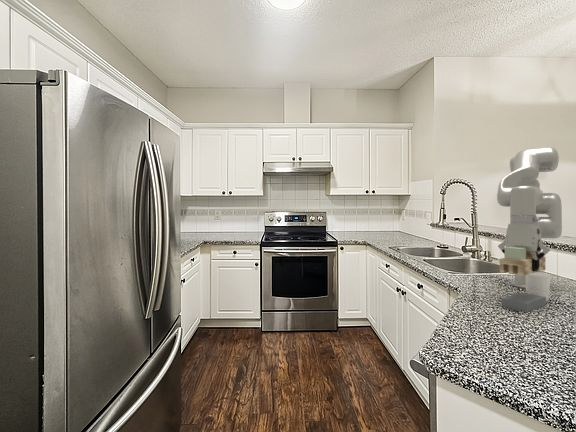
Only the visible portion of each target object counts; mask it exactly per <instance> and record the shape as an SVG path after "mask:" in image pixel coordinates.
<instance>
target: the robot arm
mask: <svg viewBox="0 0 576 432" xmlns="http://www.w3.org/2000/svg"><path fill="white" fill-rule="evenodd" d="M559 158H560V155H559V152H558V151H557V149H556V148H554V147H551V146H546V147H537V148H535V147H534V148H526V149H522V150H520V151H518V152H517V153H516V155H515V156H514V157H512V158H511V159H509V168H510V172H509V173H508V174H507V175H505V176H504V177H502V178H501V180H500V181H499V183H498V187H497V188H498V189H497V193H496V200H497V203H498V204H499V206H501V207H507V208H508V207H509V210H510V211H509V214H510V215H509V218H510V219H509V221H510V223H508V224H507V229H506V234H505V240H504V241H502V242H500V244H498V245H497V247H498V248H499V250H500V251H501V252H502V253H503V254H504V255H505V247H520V248H526V252H530V253H531V255H532V257H533V260H532V271H538V269H539V267H540V259H541V258H542V257H544V256H545V257H546V255H547V254H549V253H550V251H551V248H549V247H548V245H545V244H544V243H543V241H542V239H549V240H550V239H558V238H560V237H561V235H562V232H563V231H562V230H563V220H562V219H563V218H562V217H563V214H562V213H563V212H562V211H563V210H562V207H563V206H562V200H561V197H560V195H559V194H557V193H556V192H555V193H554V192H543V190H541V187H540V186H541V183H540V182H539V180H538V178H539V175H540V173H547V172H554V171H555V170H557V168H558V166H559V160H560V159H559ZM537 215H546V216H537ZM538 251H540V254H539V253H538ZM539 273H542V271H540V272H539ZM510 285H511V286H513V287H516V288H521V289H526V281H525V275H523V276H520V275H518V273H516V274H514V280H511V281H510Z"/></svg>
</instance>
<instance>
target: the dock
mask: <svg viewBox="0 0 576 432" xmlns="http://www.w3.org/2000/svg"><path fill="white" fill-rule="evenodd" d="M544 306H547V301H546V297H544V296H539V295H533V294H528V293H527V292H524V291H523V292H522V291H521V292H518V293H517V292H516V293H514V294H511V295H507V296H505V297H501V307H503V308H508V309H511V310H517V311H521V312H525V313H528V312H531V311H533V310H536V309H539V308H542V307H544Z"/></svg>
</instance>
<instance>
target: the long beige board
mask: <svg viewBox="0 0 576 432" xmlns="http://www.w3.org/2000/svg"><path fill="white" fill-rule="evenodd" d="M532 260H533V257H526V259H525V260H512V259H505V257H502V258H499V273H501V274H502V273H503V274H506V273H508V274H509V275H515V274H516V273H518V275H520V276H523V275H527V274H531V273H535V272H540V271H541V272H543V271H546V255H545V256H544V257H542V258H541V259H540V267H539V269H538V271H532Z"/></svg>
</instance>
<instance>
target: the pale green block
mask: <svg viewBox="0 0 576 432" xmlns="http://www.w3.org/2000/svg"><path fill="white" fill-rule="evenodd" d="M504 258H505V259H512V260H525V259H526V248H520V247H506V246H505V254H504Z"/></svg>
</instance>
